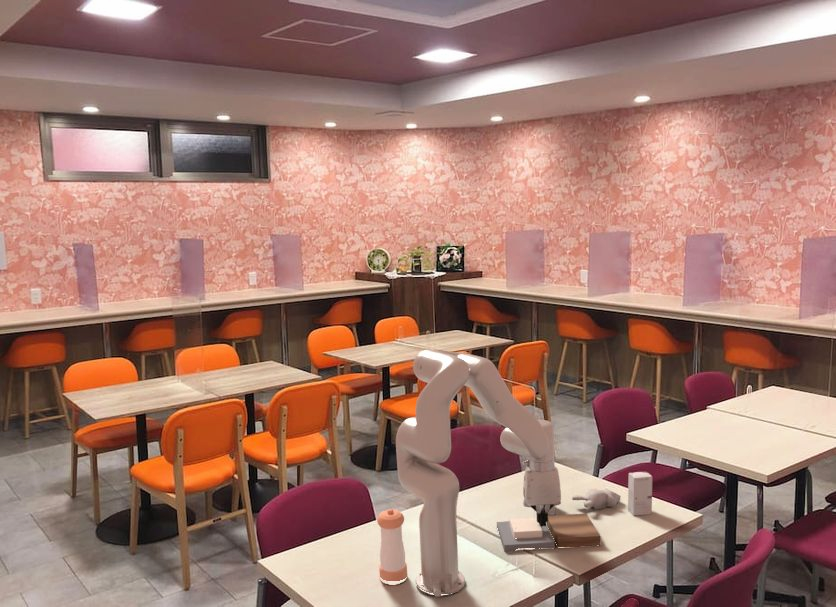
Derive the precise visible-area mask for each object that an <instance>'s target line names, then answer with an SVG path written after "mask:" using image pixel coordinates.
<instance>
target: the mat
mask: <svg viewBox="0 0 836 607" xmlns="http://www.w3.org/2000/svg"><path fill="white" fill-rule="evenodd" d="M540 527H541V526H540ZM497 528H498V530H497V532H498V531H499V534H498V536H499V535H500V537H499V538H500V539H501V540H500V542H501V545H502V548H503V552H504V553H507V552H508V553H510V552H516V551H515V550H516V549H518V548H535V549H539V548H540V549H541V548H554V549H555V541H554V539H553V537H552V535H551V533H550V531H549V529H548V527H547V525H546V526H543V527H541V529H542V537H535V538H517V539H514V537H513V534H512V531H511V528H510V523H509V520H507V521H497V522H496V529H497Z"/></svg>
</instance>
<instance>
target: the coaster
mask: <svg viewBox="0 0 836 607" xmlns="http://www.w3.org/2000/svg"><path fill="white" fill-rule="evenodd" d="M508 521H509V523H510V528H511V531H512V534H513V537H514V539H515V538H535V537H542V529H541V527H540V524H539V523H537V517H526V518H525V517H522V518H509V520H508ZM516 527H517V529H516V530H515V528H516Z"/></svg>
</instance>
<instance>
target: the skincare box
mask: <svg viewBox="0 0 836 607" xmlns="http://www.w3.org/2000/svg"><path fill="white" fill-rule="evenodd" d="M627 484H628V485H627V489H628V492H627V509H628V511H629V513H630V514H631V515H632V516H644V515H646V516H647V515H652V512H653V511H652V510H653V509H652V508H653V507H652V506H653V476H652V475H651V474H650V473H649V472H647V471H636V472H629V473H628V483H627Z"/></svg>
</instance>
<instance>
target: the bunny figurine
mask: <svg viewBox="0 0 836 607" xmlns="http://www.w3.org/2000/svg"><path fill="white" fill-rule="evenodd" d="M621 496H622V495H620V494H618V493H617V492H614V491H613V490H611V489H608V488H604V489H598V488H591V489H588V490H587V492H586V495H575V494H573V496H572V498H571V500H572V501H583V506H584V507H585V508H587V509H590V508H594V510H602V509H605V508H606V507H612V508H613V507H617V504H618V503H619V502H620V501H621Z"/></svg>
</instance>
